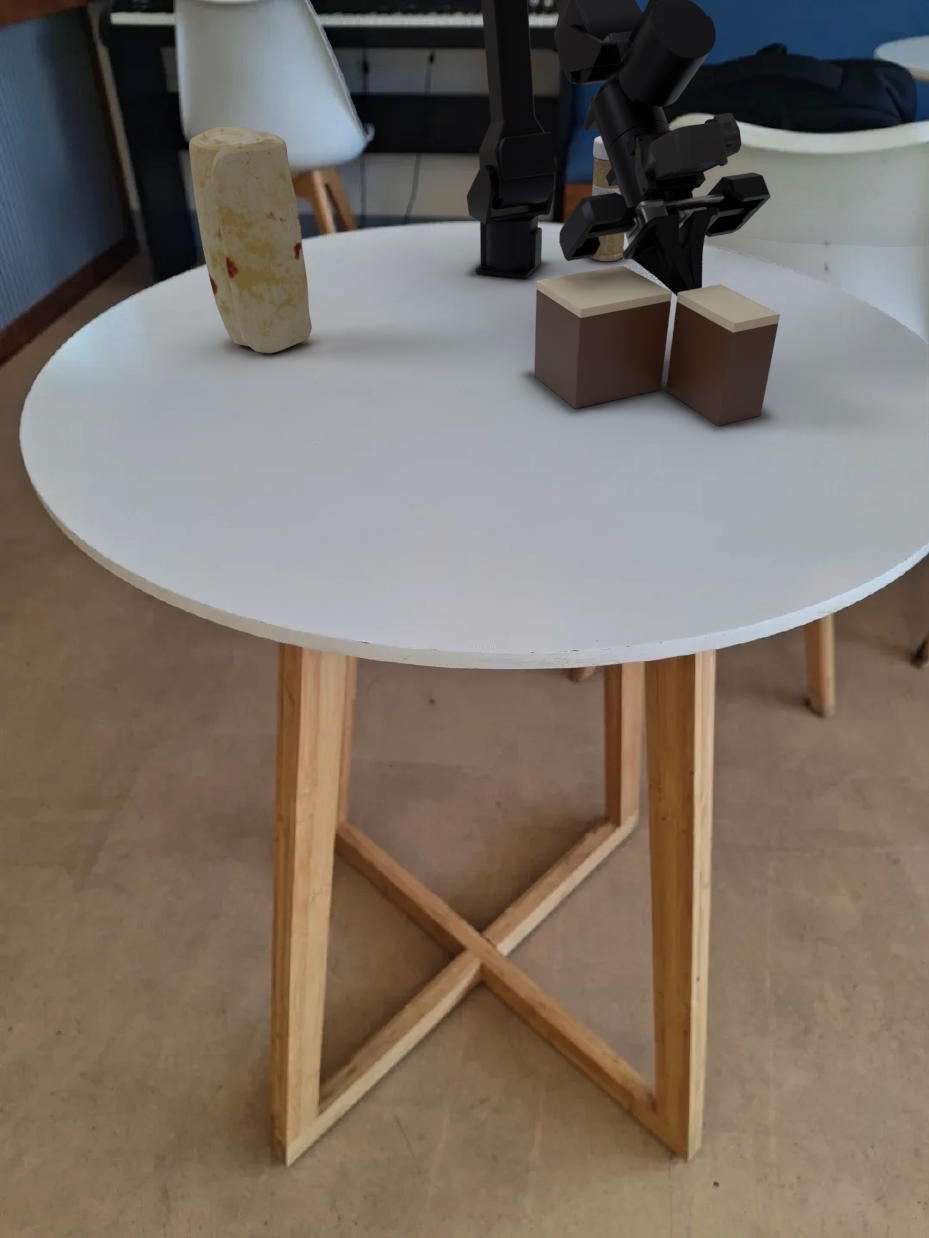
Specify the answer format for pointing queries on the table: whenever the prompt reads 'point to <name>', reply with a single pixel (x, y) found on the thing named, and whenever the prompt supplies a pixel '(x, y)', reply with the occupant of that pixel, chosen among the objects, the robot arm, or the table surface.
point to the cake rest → (601, 335)
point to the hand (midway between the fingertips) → (695, 304)
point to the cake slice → (721, 353)
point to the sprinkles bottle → (610, 243)
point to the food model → (251, 236)
